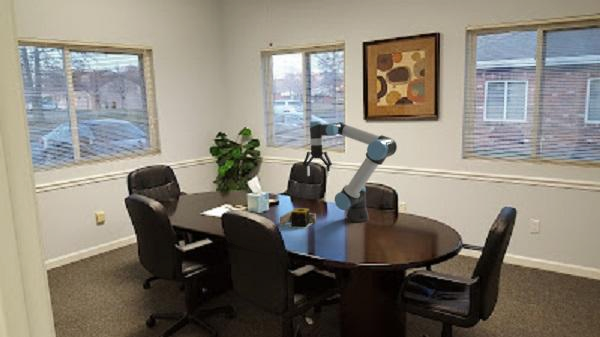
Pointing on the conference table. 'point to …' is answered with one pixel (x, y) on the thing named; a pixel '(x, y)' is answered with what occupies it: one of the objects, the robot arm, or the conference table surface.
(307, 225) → the pad
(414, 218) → the conference table surface
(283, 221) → the arena
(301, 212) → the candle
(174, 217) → the conference table surface
